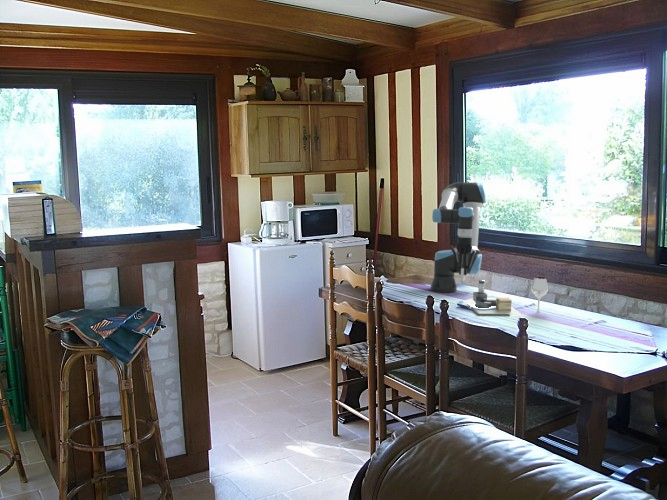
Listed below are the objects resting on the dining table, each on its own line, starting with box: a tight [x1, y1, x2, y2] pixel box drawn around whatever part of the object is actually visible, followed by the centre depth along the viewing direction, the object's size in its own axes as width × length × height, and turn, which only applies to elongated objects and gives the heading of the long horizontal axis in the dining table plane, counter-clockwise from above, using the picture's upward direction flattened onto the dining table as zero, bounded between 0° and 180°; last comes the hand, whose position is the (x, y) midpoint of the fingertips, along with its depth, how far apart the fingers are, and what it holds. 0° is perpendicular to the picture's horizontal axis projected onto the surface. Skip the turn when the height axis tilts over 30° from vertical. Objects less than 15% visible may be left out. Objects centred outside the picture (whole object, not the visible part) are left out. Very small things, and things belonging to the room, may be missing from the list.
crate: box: [495, 297, 512, 312], centre depth 353 cm, size 6×6×6 cm
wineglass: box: [530, 276, 549, 314], centre depth 350 cm, size 8×8×18 cm
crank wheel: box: [472, 291, 496, 308], centre depth 361 cm, size 14×18×6 cm
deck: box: [468, 305, 525, 318], centre depth 354 cm, size 29×23×1 cm
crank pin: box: [477, 279, 486, 294], centre depth 364 cm, size 3×3×10 cm
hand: (462, 280), depth 368 cm, fingers closed
